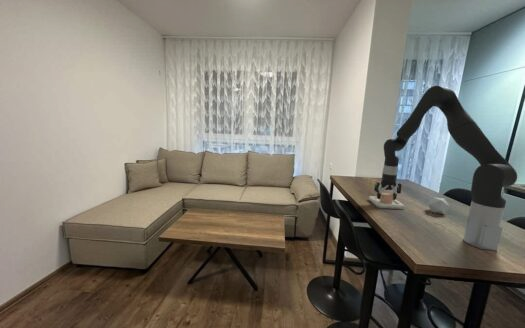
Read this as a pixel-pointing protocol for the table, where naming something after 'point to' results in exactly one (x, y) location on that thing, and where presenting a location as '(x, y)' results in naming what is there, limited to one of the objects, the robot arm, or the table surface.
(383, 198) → the cube
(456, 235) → the table surface
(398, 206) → the tray
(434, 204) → the die
